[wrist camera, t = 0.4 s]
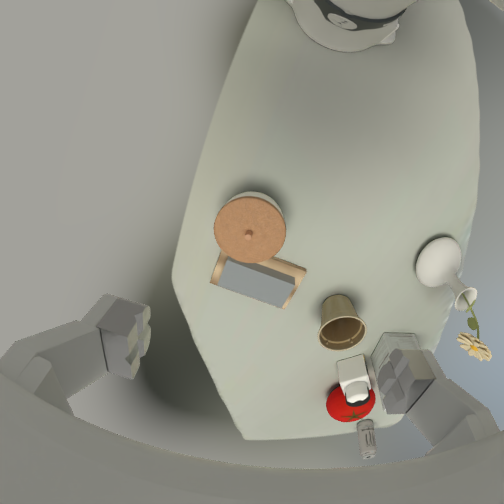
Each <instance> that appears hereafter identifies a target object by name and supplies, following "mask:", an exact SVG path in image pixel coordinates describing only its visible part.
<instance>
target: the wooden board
mask: <svg viewBox="0 0 504 504" xmlns="http://www.w3.org/2000/svg"><path fill="white" fill-rule="evenodd" d="M227 258H228V255H227V254H226V253H225V252H223V250H222V251H221V253H220V256H219V259H218V261H217V264H216V267H215V270H214V272H213V275H212V278H211V281H210V283H212V284H215V285H217V286H218V282H219V279H220V276H221V273H222V271H223V268H224V266H225V263H226V260H227ZM257 264H260V265H263V266H265V267H268V268H271V269H273V270H276V271H279V272H281V273H284V274H287V275H290V276H292V277H295V286H294V288H293V290H292V291H291V293H290V295H289V297H288V298H287V300H286V302H285V303H284V305H283V307H282V309H285V308H286V306H287V304H288V303H289V301H290V299H291V298H292V296H293V294H294V293H295V291H296V289H297V288H298V286H299V284H300V283H301V281H302V279H303V277H304V276H305V274H306V272H307V271H306V269H305V268H302V267H300V266H297V265H294V264H292V263H289V262H286V261H284V260H281V259H279V258H276V257H272V258H270V259H268V260H266V261H263V262H259V263H257ZM225 289H226V288H225ZM228 290H229V289H228ZM236 293H237V292H236ZM247 297H248V296H247ZM250 298H251V297H250ZM261 302H262V301H261ZM264 303H265V302H264ZM267 304H268V303H267Z"/></svg>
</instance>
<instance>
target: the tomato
mask: <svg viewBox="0 0 504 504" xmlns="http://www.w3.org/2000/svg"><path fill="white" fill-rule="evenodd" d="M369 392H370V397H371V398H370V400H369V402H367V403H366V404H364V405H362V406H359V407H350V406H348V405H347V404H346V400H345V395H344V393H343V390H342V388H341V386H339V387H337V388H336V389H335V390H334V391H332V392H331V394H330V395H329V397H328V398H327V402H326V407H327V411H328V413H329V414H330V416H331V417H333V418H334V419H335V420H338V421H341V422H352V421H356V420H359V419H361V418H363V417H365V416H366V415H368V414H369V413H370V411H371V410H372V408H373V406H374V404H375V393H374V391H373V389H372V388H371V389H370V390H369Z"/></svg>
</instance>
